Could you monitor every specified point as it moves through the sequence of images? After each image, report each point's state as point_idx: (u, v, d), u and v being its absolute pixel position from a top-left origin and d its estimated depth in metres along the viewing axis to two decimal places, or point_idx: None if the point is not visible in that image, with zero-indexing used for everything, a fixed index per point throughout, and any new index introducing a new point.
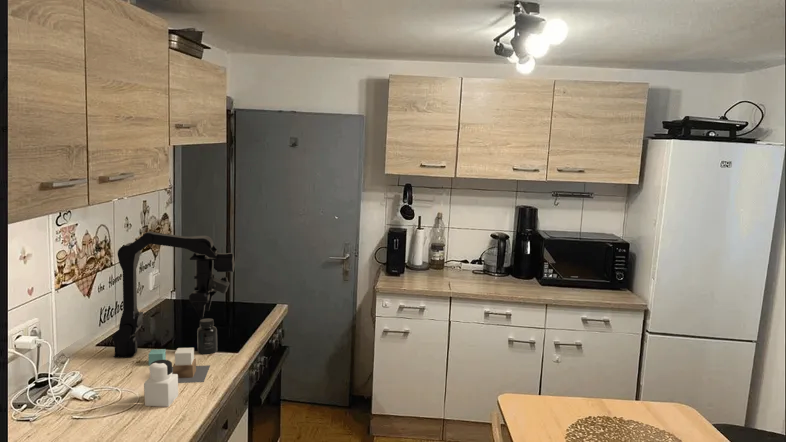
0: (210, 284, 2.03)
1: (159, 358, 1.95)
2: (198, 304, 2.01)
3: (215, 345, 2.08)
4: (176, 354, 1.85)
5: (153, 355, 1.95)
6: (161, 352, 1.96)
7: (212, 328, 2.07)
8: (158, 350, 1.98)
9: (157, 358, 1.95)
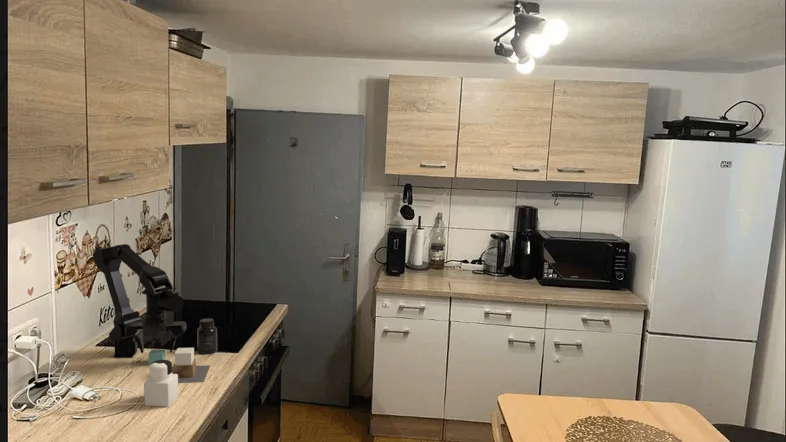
0: None
1: (159, 358, 1.95)
2: None
3: (215, 345, 2.08)
4: (176, 354, 1.85)
5: (153, 355, 1.95)
6: (161, 352, 1.96)
7: (212, 328, 2.07)
8: (158, 350, 1.98)
9: (157, 358, 1.95)
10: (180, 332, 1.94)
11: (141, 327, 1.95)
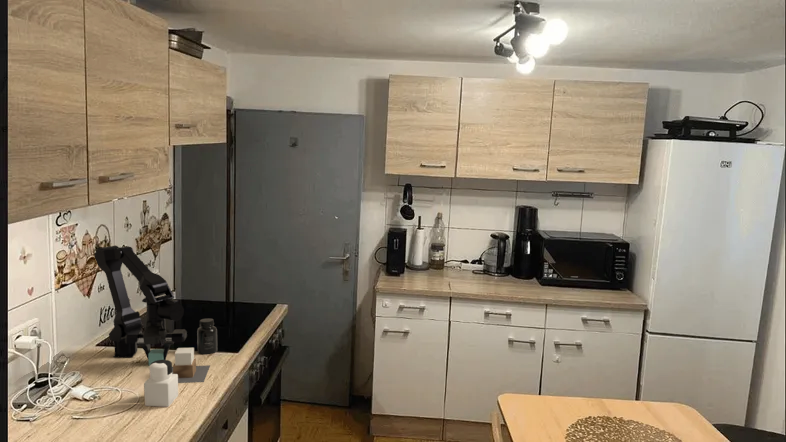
0: None
1: (159, 358, 1.95)
2: None
3: (215, 345, 2.08)
4: (176, 354, 1.85)
5: (153, 355, 1.95)
6: (161, 352, 1.96)
7: (212, 328, 2.07)
8: (158, 350, 1.98)
9: (157, 358, 1.95)
10: (180, 340, 1.95)
11: (141, 335, 1.95)
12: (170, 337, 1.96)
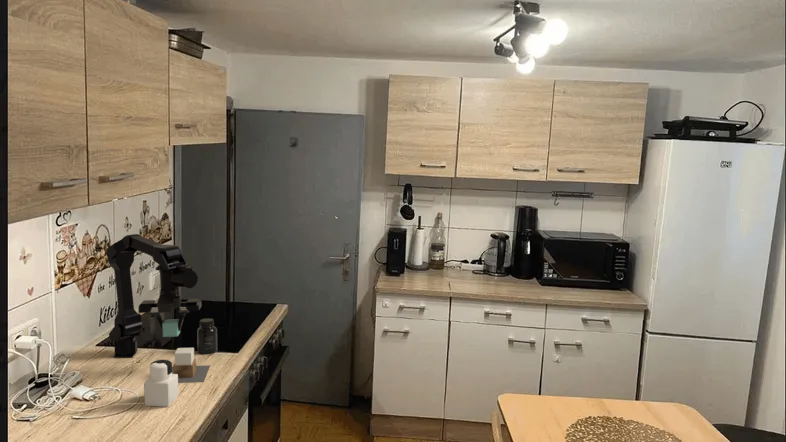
0: None
1: (173, 327, 1.89)
2: None
3: (215, 345, 2.08)
4: (176, 354, 1.85)
5: (167, 324, 1.88)
6: (175, 321, 1.90)
7: (212, 328, 2.07)
8: (172, 320, 1.91)
9: (172, 328, 1.89)
10: (195, 309, 1.88)
11: (155, 305, 1.89)
12: (184, 306, 1.90)
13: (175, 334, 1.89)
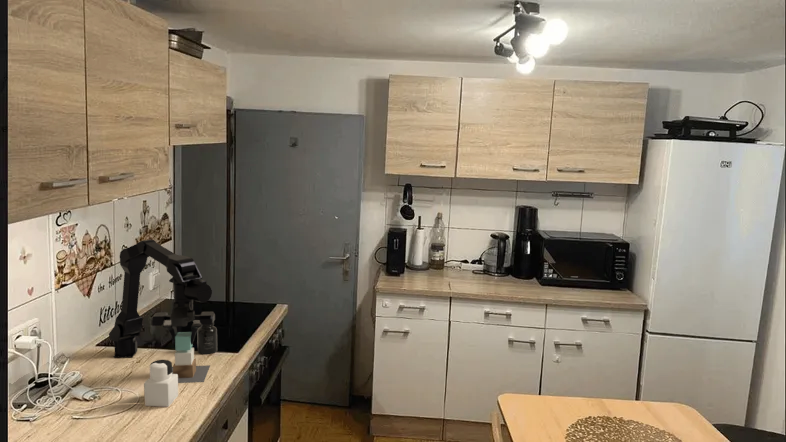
0: (172, 311, 1.82)
1: (186, 341, 1.85)
2: None
3: (215, 345, 2.08)
4: (176, 354, 1.85)
5: (180, 338, 1.84)
6: (188, 335, 1.86)
7: (212, 328, 2.07)
8: (185, 333, 1.88)
9: (185, 341, 1.85)
10: (209, 323, 1.85)
11: (168, 317, 1.85)
12: (198, 319, 1.86)
13: (188, 348, 1.85)
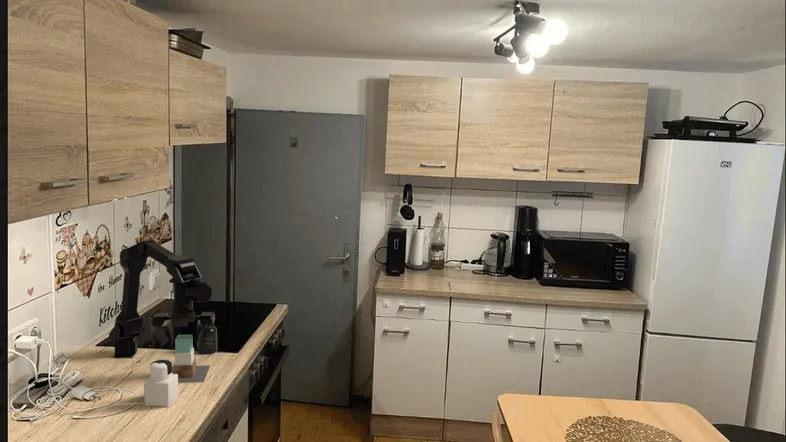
0: (172, 311, 1.82)
1: (186, 344, 1.85)
2: None
3: (215, 345, 2.08)
4: (176, 354, 1.85)
5: (180, 341, 1.85)
6: (188, 337, 1.86)
7: (212, 328, 2.07)
8: (185, 336, 1.88)
9: (185, 344, 1.85)
10: (209, 323, 1.85)
11: (168, 318, 1.85)
12: None
13: (188, 350, 1.85)
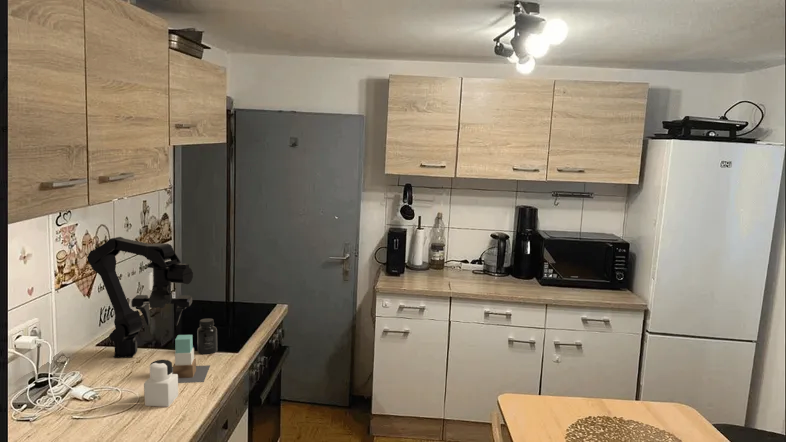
0: None
1: (186, 344, 1.85)
2: None
3: (215, 345, 2.08)
4: (176, 354, 1.85)
5: (180, 341, 1.85)
6: (188, 337, 1.86)
7: (212, 328, 2.07)
8: (185, 336, 1.88)
9: (185, 344, 1.85)
10: (186, 305, 1.96)
11: (147, 299, 1.97)
12: None
13: (188, 350, 1.85)
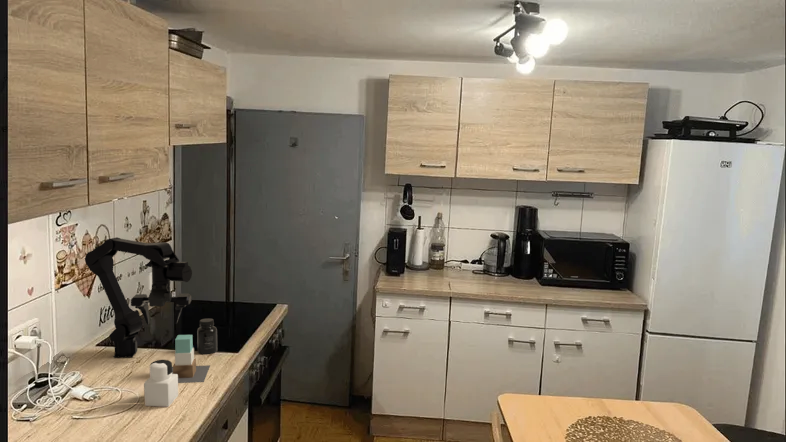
0: None
1: (186, 344, 1.85)
2: None
3: (215, 345, 2.08)
4: (176, 354, 1.85)
5: (180, 341, 1.85)
6: (188, 337, 1.86)
7: (212, 328, 2.07)
8: (185, 336, 1.88)
9: (185, 344, 1.85)
10: (185, 303, 1.97)
11: (147, 298, 1.98)
12: None
13: (188, 350, 1.85)
